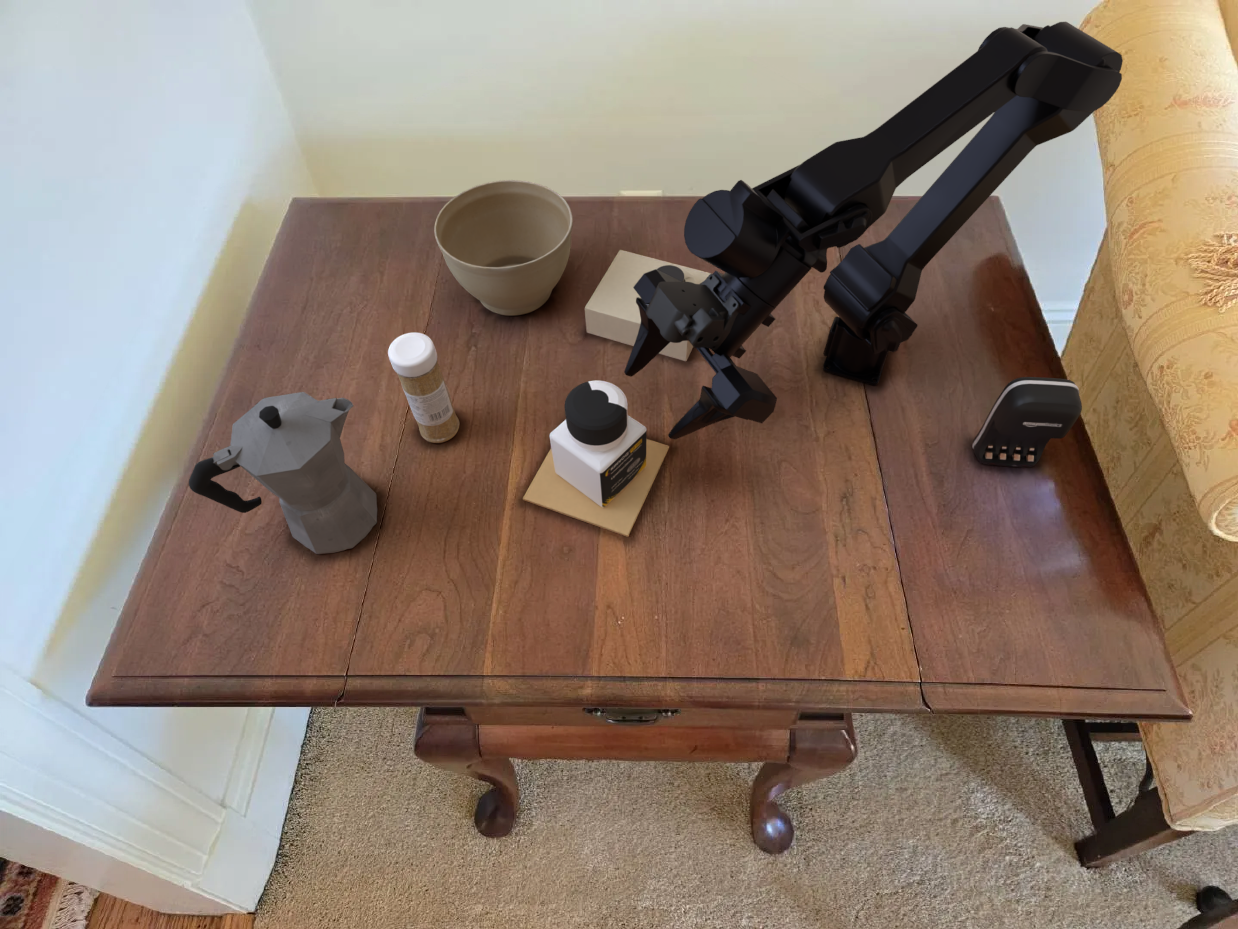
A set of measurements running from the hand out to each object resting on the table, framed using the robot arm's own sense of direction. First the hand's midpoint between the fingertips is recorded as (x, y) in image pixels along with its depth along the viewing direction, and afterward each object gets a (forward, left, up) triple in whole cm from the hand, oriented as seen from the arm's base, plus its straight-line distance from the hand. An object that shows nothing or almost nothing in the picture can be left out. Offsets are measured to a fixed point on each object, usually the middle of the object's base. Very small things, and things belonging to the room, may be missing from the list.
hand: (648, 405), depth 78 cm
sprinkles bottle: (+23, +6, -8) cm, 25 cm away
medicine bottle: (+4, +4, -8) cm, 10 cm away
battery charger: (-36, -13, -8) cm, 39 cm away
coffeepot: (+28, +21, -8) cm, 36 cm away
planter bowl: (+25, -17, -8) cm, 31 cm away
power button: (+5, -19, -2) cm, 20 cm away
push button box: (+7, -19, -8) cm, 22 cm away
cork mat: (+4, +5, -8) cm, 10 cm away
